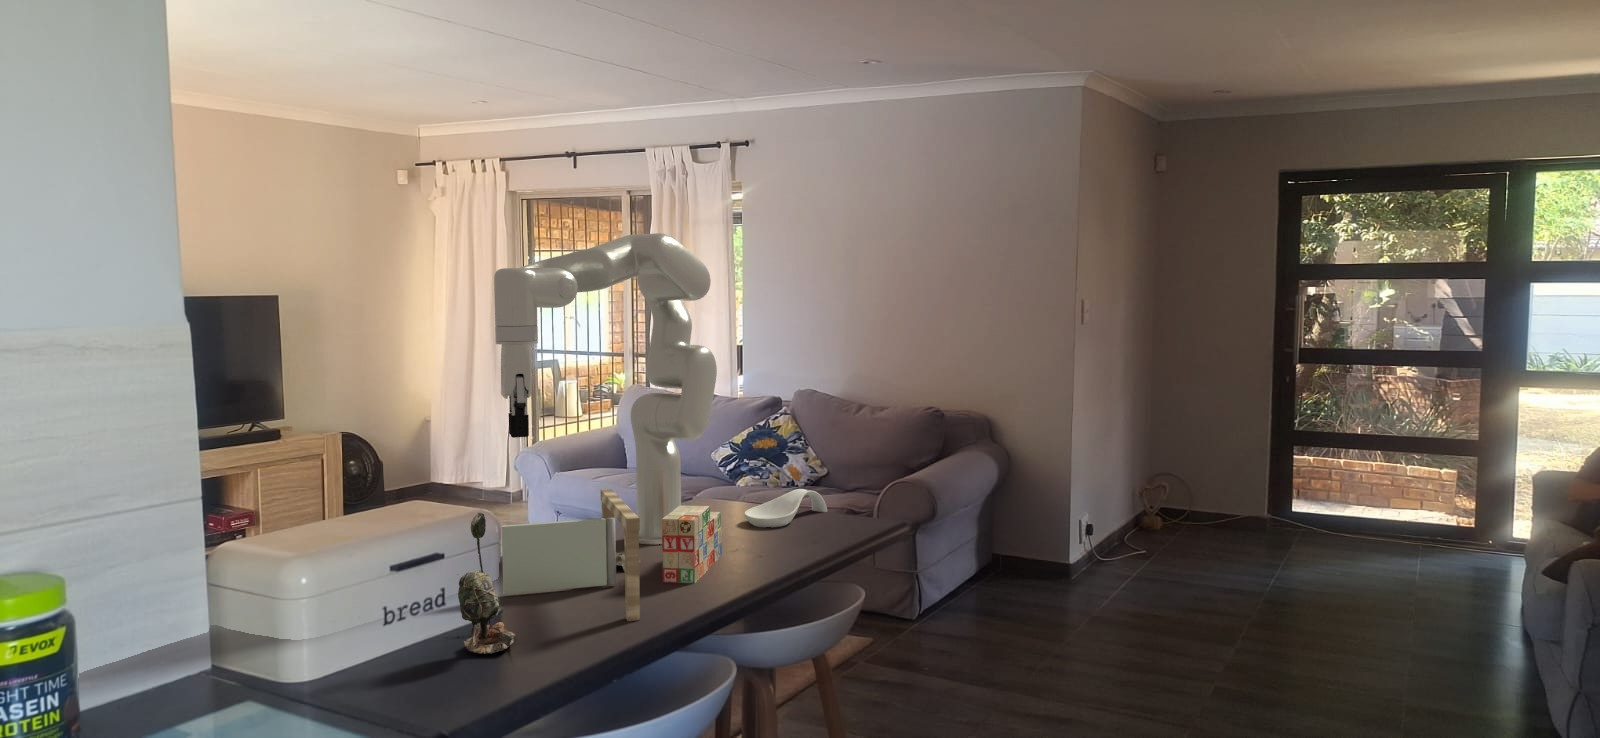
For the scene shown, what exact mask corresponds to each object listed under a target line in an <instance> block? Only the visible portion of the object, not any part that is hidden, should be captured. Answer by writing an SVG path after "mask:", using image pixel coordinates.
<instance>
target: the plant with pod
mask: <svg viewBox="0 0 1600 738" xmlns="http://www.w3.org/2000/svg"><path fill="white" fill-rule="evenodd" d="M486 522H487V520H486V517H485V513H483V512H477V513H476V515H474V517H473V518H472V520H471V522H470V533H471V536H472V537H473V538H474V539H476V545H477V554H478V560H479V566H480V570H475V571H468V572H466V573H464V574H463V575H461V577H460V578H459V581H458V593H457V595H458V596H457V597H458V602H459V609H460V613H461V618H462V619H463V620H464V621H468V622H471V625H472V628H471V632H470V633H471V637H470V638H467V639H466V641H465V640H463V643H464V645H463V646H464V647H465V649H466V650H467V651H469V652H471V653H472V652H473V653H476V654H494V653H496V652H497V653H498V652H499V651H504V650H506V649H508V648H509V647H510V646H511V645H512V644H513V643H515V641H514V639H515V637H516V634H515V633H514V631H512V630H508V629H507V627H506V625H505V624H504V622H500V621H499V622H496V623H494V625H491V620H492V619H493V618H495V617H497V616H498V615H499V610H500V604H499V595H498V594H497V591H496V588H495V585H494V582H493V580H492V578H491V577H490V575H489V574H488V573H487V572H485V571H484V570H483V562H482V557H481V555H482V554H481V547H480V546H481V544H480V542H481V541H480V539H481V538H483V537H484V536H485V533H486V531H487V530H486V526H487V525H486ZM456 575H457V576H458V575H459V574H458V573H457V574H456Z"/></svg>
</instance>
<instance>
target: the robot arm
mask: <svg viewBox="0 0 1600 738" xmlns="http://www.w3.org/2000/svg"><path fill="white" fill-rule="evenodd" d="M635 277H636V280H637V286H638V289H639V291H640V293H641V294H642V296H643V298H644V299H645V301H646V303H647V306H648V308H649V309H650V312H651V315H652V328H651V329H652V331H651V336H650V337H651V338H650V343H649V348H648V354H647V358H646V359H647V360H646V366H645V367H646V368H645V375H646V379H647V381H648V382H649V383H650V384H651V385H652V386H655V387H659V388H666V389H681V393H680V394H677V393H676V394H674V393H661V392H651V393H645V394H643V395H641V396H639V397H638V398H636V399H635V401H634V402H633V404H632V406H631V409H630V424H631V429H632V432H633V433H632V434H633V437H634V438H633V439H634V446H635V447H634V448H635V464H636V465H635V466H636V468H635V471H636V472H635V473H636V474H635V475H636V479H635V480H636V484H635V486H636V515H637V516H638V517H639V518H640V530H639V545H652V546H653V545H659V544H660V545H662V518H664V517H665V516H667V515H668V514H670V513H671V512H672V511H673V510H675V509H676V508H677V507H678V506H682V478H681V477H682V476H681V474H682V472H681V470H682V469H681V467H682V466H681V461H682V460H681V455H680V453H681V452H680V451H679V447H678V446H677V443H676V441H675V440H680V441H695V440H697V439H699V438H701V437H702V436H703V435H704V434H705V432H706V431H707V428H708V426H709V423H710V418H711V414H712V413H711V412H712V406H713V400H714V396H715V395H714V394H715V388H716V382H717V376H718V375H717V374H718V373H717V371H718V370H717V369H718V366H717V362H716V358H715V356H714V353H713V352H712V351H711V350H710V349H709V348H708V347H705V346H704V345H699V344H691V341H692V340H691V339H692V330H693V323H692V319H691V315H690V313H689V311H688V309H687V308H686V306H685V304H684V302H687V301H688V302H691V301H697V300H698V301H699V300H701V299H703V298H704V297H705V296H706V295H707V294H708V293H709V291H710V287H711V282H712V281H711V280H712V279H711V275H710V272H709V270H708V268H707V266H706V265H705V263H704V262H703V261H702V260H701V259H699V258H698V257H697V256H696V255H695V254H694V253H692V251H691V250H690V249H688V248H687V247H686V246H684V245H683V244H682V243H681V242H680V241H678V240H676V239H675V238H673V237H671V236H670V235H668V234H665V233H637V234H636V233H635V234H634V233H633V234H627V235H623V236H621V237H618V238H615V239H612V240H610V241H606V242H604V243H600V244H598V245H595V246H592V247H589V248H585V249H581V250H577V251H573V252H570V253H566V254H561V255H556V256H554V257H550V258H545V259H542V260H538V261H534V262H532V263H529V264H526V265H524V266H520V267H509V268H508V267H507V268H506V267H505V268H500V269H497V270H496V271H495V272H494V276H493V278H494V279H493V287H494V289H493V290H494V292H493V293H494V294H493V295H494V298H493V299H494V332H495V337H494V338H495V339H494V340H495V345H501V346H500V347H501V348H500V394H501V396H502V397H503V398H504V399H505V400H508V398H509V400H508V403H509V413H508V434H509V435H510V437H511V438H528V437H529V435H530V429H529V428H530V426H529V423H530V422H529V413H528V399H529V398H530V397H532V388H533V387H532V386H533V358H532V357H533V354H532V345H536V344H539V333H538V332H539V329H538V308H543V309H545V308H546V309H557V308H558V309H559V308H564V307H566V306H568V305H570V304H571V303H573V301H574V300H575V299H576V297H577V294H578V293H587V292H593V291H595V292H596V291H600V290H605V289H608V288H609V287H612V286H614V285H617V284H619V283H623V282H624V281H627V280H630V279H632V278H635Z"/></svg>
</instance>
